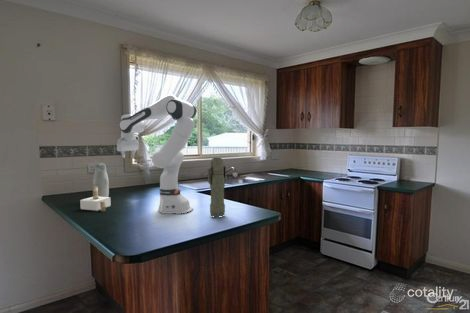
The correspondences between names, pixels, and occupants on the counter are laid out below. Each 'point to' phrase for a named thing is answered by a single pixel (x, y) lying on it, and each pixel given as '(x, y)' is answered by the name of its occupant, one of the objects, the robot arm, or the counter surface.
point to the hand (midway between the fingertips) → (128, 157)
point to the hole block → (94, 203)
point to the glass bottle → (101, 180)
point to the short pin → (103, 206)
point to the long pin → (95, 193)
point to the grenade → (217, 186)
